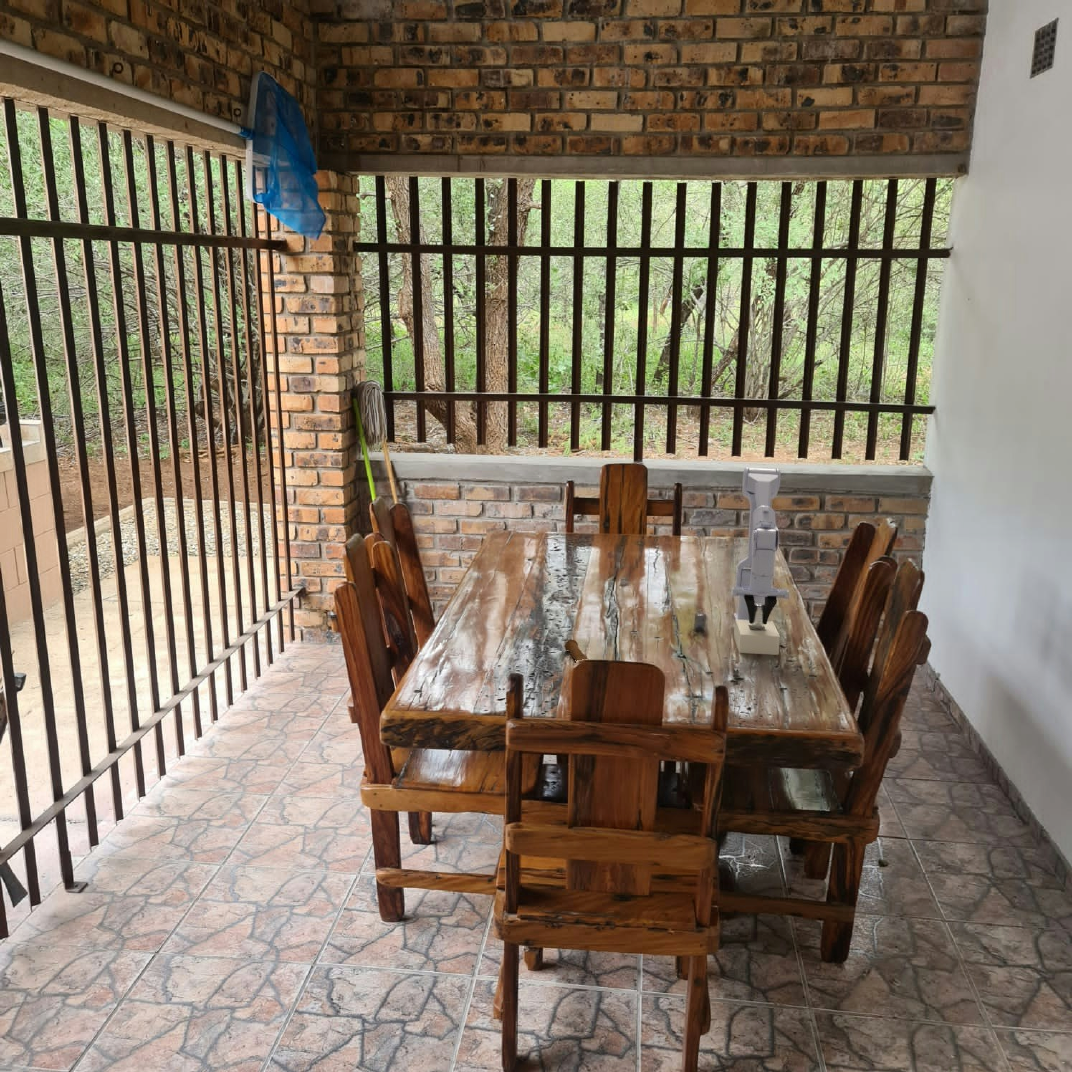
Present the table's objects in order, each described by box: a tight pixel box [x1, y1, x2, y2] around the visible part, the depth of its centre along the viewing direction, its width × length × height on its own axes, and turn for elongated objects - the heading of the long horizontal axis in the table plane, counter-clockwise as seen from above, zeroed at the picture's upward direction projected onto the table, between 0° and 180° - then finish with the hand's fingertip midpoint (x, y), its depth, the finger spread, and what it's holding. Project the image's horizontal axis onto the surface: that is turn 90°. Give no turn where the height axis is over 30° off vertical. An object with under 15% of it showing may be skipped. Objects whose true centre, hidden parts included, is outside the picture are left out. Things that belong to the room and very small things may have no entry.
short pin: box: [693, 612, 707, 633], centre depth 265 cm, size 3×3×4 cm
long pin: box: [751, 603, 765, 631], centre depth 253 cm, size 3×3×8 cm
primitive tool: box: [564, 638, 589, 662], centre depth 239 cm, size 19×6×4 cm, turn 18°
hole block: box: [733, 618, 781, 656], centre depth 254 cm, size 12×10×5 cm
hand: (757, 622), depth 253 cm, fingers closed on long pin, 3 cm apart
